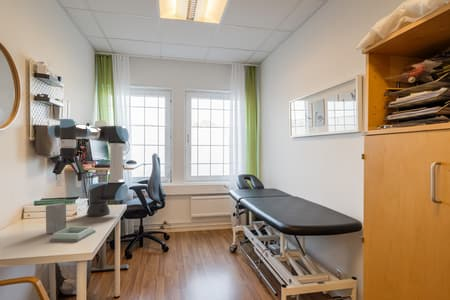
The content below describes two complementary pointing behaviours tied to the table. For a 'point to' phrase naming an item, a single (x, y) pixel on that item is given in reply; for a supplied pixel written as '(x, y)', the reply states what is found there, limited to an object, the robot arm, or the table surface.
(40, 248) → the table surface
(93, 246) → the table surface
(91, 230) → the tray
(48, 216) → the skincare box
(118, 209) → the table surface
